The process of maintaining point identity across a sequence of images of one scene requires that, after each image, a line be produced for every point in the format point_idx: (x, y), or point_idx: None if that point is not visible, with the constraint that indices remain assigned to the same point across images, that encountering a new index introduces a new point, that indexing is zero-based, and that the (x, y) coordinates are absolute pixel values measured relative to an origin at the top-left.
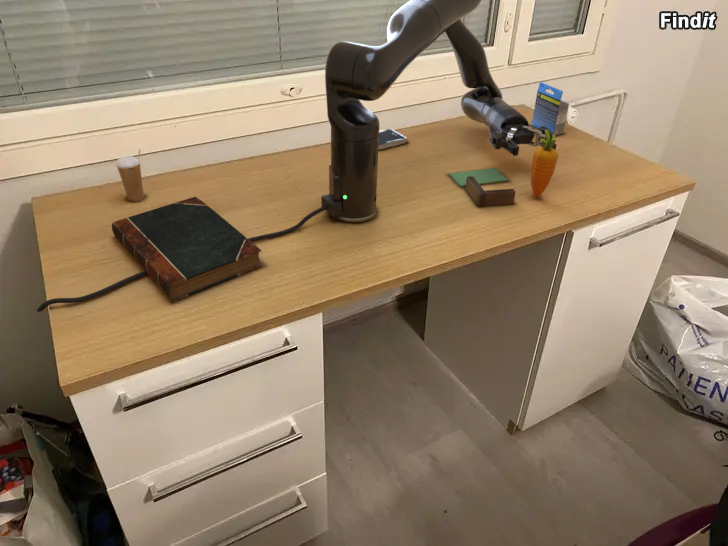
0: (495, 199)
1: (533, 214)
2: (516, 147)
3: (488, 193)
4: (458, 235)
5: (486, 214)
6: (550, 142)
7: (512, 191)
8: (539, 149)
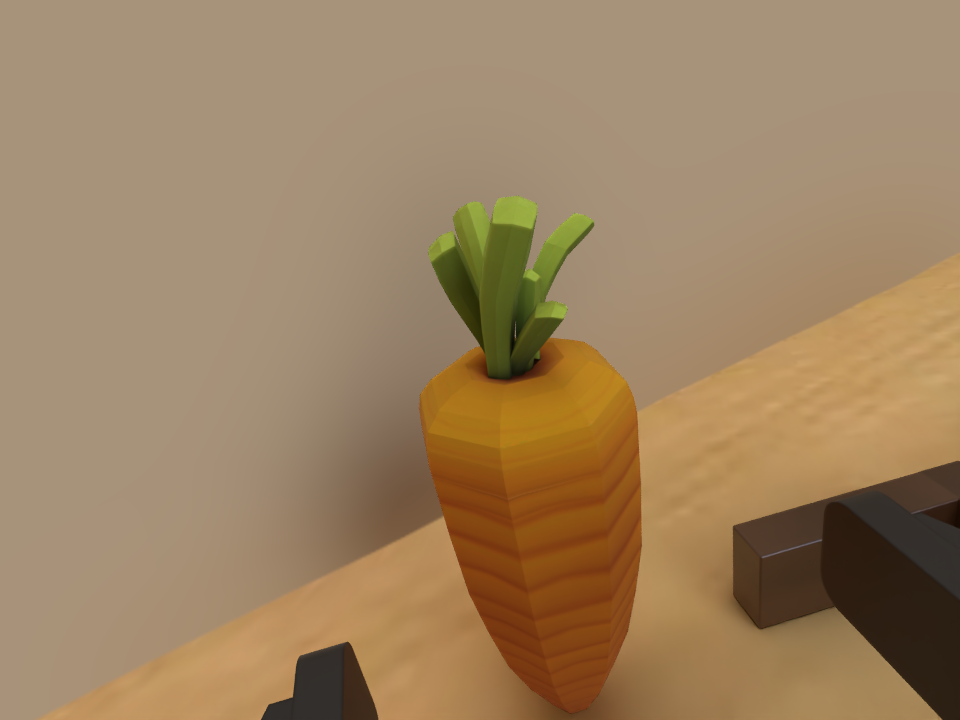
0: None
1: None
2: (866, 492)
3: (909, 476)
4: (906, 361)
5: (859, 482)
6: (339, 716)
7: (755, 522)
8: (586, 358)
